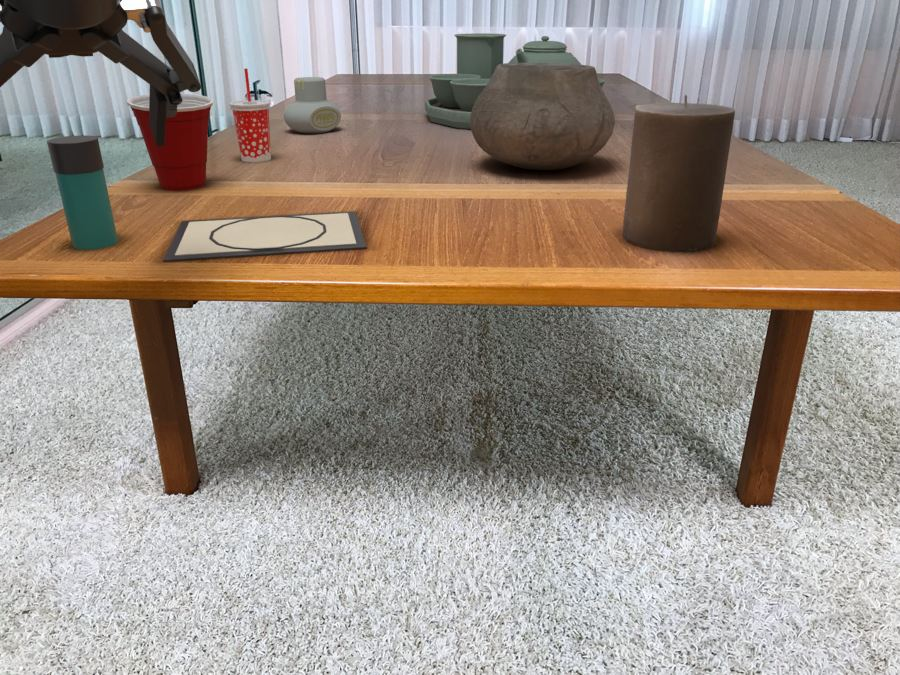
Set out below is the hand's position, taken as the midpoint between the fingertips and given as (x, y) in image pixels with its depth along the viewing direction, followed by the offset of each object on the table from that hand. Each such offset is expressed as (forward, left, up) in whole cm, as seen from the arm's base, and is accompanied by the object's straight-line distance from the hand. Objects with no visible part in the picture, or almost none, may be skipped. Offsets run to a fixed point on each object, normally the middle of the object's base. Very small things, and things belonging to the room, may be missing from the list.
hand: (79, 141), depth 66 cm
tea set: (+67, +82, -12) cm, 107 cm away
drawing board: (+16, +5, -12) cm, 20 cm away
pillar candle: (+58, -5, -12) cm, 59 cm away
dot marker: (-2, +6, -12) cm, 14 cm away
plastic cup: (+4, +31, -12) cm, 34 cm away
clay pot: (+56, +33, -12) cm, 66 cm away
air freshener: (+23, +74, -12) cm, 79 cm away
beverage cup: (+13, +48, -12) cm, 51 cm away
